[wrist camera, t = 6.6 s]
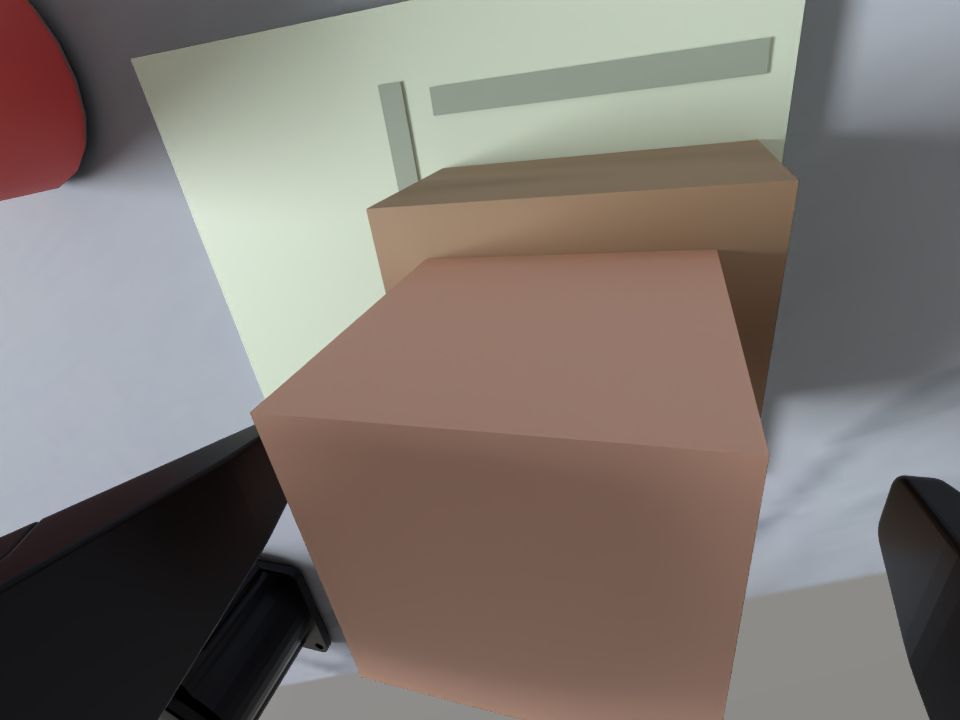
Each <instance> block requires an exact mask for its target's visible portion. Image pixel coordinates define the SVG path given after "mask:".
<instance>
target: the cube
mask: <svg viewBox="0 0 960 720" xmlns="http://www.w3.org/2000/svg"><path fill="white" fill-rule="evenodd" d="M250 414H251V416H252V419H253V421H254V424H255V426H256V428H257V431H258V433H259V435H260V438H261V440H262V443H263V445H264V447H265V450H266V452H267V454H268V457H269V459H270V462H271V464H272V466H273V469H274V471H275V473H276V476H277V478H278V481H279V483H280V485H281V488H282V490H283V492H284V495H285V497H286V500H287V502H288V504H289V507H290V509H291V511H292V514H293V516H294V518H295V521H296V523H297V526H298V528H299V530H300V533H301V535H302V537H303V540H304V542H305V545H306V547H307V549H308V552H309V554H310V556H311V559H312V561H313V564H314V566H315V568H316V571H317V573H318V575H319V578H320V580H321V583H322V585H323V587H324V590H325V592H326V594H327V597H328V599H329V602H330V604H331V606H332V609H333V611H334V613H335V616H336V618H337V621H338V623H339V625H340V628H341V630H342V632H343V635H344V637H345V639H346V642H347V644H348V647H349V649H350V651H351V654H352V656H353V658H354V661H355V663H356V666H357V668H358V670H359V673H360V675H361V677H362V678H366V679H370V680H373V681H378V682H381V683H385V684H389V685H392V686H396V687H400V688H403V689H407V690H411V691H415V692H419V693H422V694H426V695H430V696H434V697H438V698H441V699H445V700H449V701H452V702H456V703H460V704H464V705H468V706H472V707H475V708H479V709H483V710H486V711H490V712H494V713H497V714H501V715H505V716H509V717H513V718H517V719H520V720H723V718H724V712H725V707H726V701H727V695H728V690H729V684H730V678H731V673H732V667H733V660H734V656H735V650H736V644H737V638H738V633H739V627H740V621H741V616H742V610H743V604H744V599H745V593H746V587H747V581H748V576H749V570H750V564H751V559H752V553H753V547H754V542H755V536H756V530H757V524H758V519H759V513H760V507H761V502H762V496H763V490H764V485H765V479H766V473H767V467H768V462H769V456H770V455H769V451H768V447H767V443H766V439H765V435H764V432H763V428H762V424H761V420H760V416H759V412H758V408H757V404H756V400H755V396H754V393H753V389H752V385H751V381H750V377H749V373H748V369H747V365H746V361H745V357H744V353H743V350H742V346H741V342H740V338H739V334H738V330H737V326H736V322H735V318H734V314H733V311H732V307H731V303H730V299H729V295H728V291H727V287H726V283H725V279H724V275H723V272H722V268H721V264H720V260H719V256H718V252H717V249H715V250H685V251H655V252H625V253H594V254H564V255H534V256H504V257H474V258H444V259H425V260H424V261H423V262H422V263H421V264H420V265H419V266H417V267H416V268H415V269H414V270H413V271H412V272H410V273H409V274H408V275H407V276H406V277H405V278H404V279H402V280H401V281H400V282H399V283H398V284H397V285H396V286H394V287H393V288H392V289H391V290H390V291H389V292H388V293H386V294H385V295H384V296H383V297H382V298H381V299H380V300H378V301H377V302H376V303H375V304H374V305H373V306H372V307H370V308H369V309H368V310H367V311H366V312H365V313H363V314H362V315H361V316H360V317H359V318H358V319H357V320H355V321H354V322H353V323H352V324H351V325H350V326H349V327H347V328H346V329H345V330H344V331H343V332H342V333H341V334H339V335H338V336H337V337H336V338H335V339H334V340H333V341H331V342H330V343H329V344H328V345H327V346H326V347H324V348H323V349H322V350H321V351H320V352H319V353H318V354H316V355H315V356H314V357H313V358H312V359H311V360H310V361H308V362H307V363H306V364H305V365H304V366H303V367H302V368H300V369H299V370H298V371H297V372H296V373H295V374H294V375H292V376H291V377H290V378H289V379H288V380H287V381H286V382H284V383H283V384H282V385H281V386H280V387H279V388H277V389H276V390H275V391H274V392H273V393H272V394H271V395H269V396H268V397H267V398H266V399H265V400H264V401H263V402H261V403H260V404H259V405H258V406H257V407H256V408H255V409H253V410H252V411H251V412H250Z"/></svg>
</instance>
